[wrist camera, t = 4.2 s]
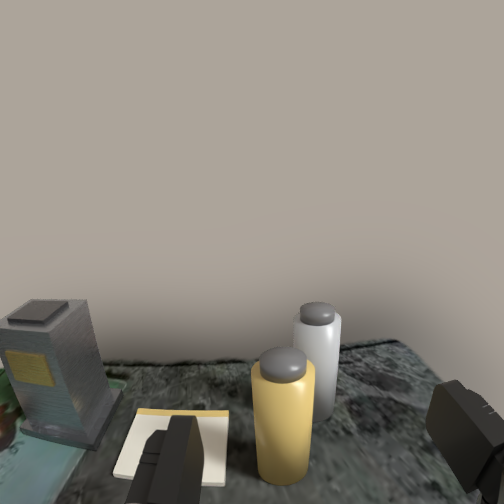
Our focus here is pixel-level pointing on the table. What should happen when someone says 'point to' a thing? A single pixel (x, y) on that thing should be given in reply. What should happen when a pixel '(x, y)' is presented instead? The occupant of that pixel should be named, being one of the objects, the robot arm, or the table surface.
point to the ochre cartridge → (283, 414)
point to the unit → (58, 372)
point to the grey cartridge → (320, 351)
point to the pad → (150, 420)
